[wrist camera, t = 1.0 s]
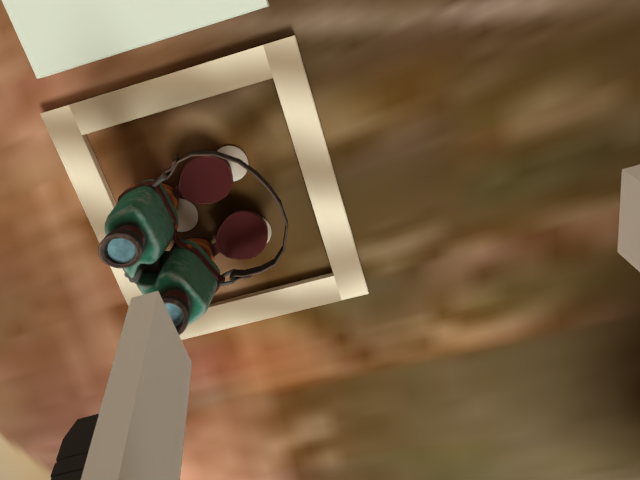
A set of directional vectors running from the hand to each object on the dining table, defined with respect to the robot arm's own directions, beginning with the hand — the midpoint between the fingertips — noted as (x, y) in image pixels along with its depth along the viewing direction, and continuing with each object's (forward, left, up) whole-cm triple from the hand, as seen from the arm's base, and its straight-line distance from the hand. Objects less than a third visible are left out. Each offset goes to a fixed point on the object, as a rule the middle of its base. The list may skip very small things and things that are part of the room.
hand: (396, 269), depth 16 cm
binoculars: (-3, +11, -22) cm, 25 cm away
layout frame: (-3, +11, -22) cm, 25 cm away
